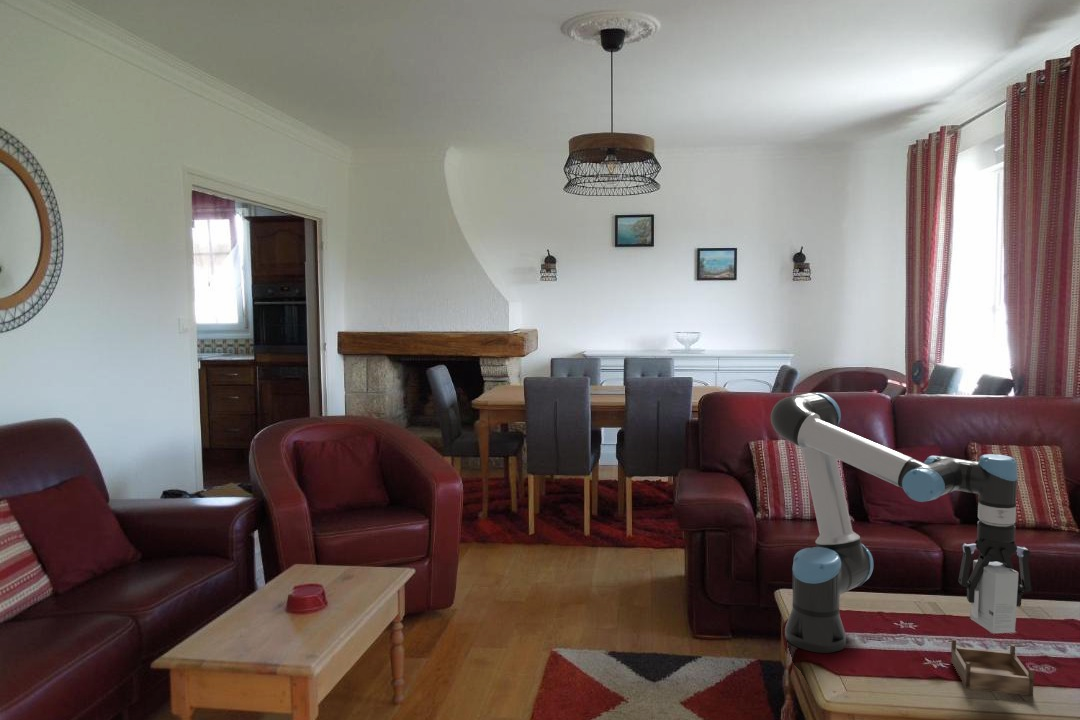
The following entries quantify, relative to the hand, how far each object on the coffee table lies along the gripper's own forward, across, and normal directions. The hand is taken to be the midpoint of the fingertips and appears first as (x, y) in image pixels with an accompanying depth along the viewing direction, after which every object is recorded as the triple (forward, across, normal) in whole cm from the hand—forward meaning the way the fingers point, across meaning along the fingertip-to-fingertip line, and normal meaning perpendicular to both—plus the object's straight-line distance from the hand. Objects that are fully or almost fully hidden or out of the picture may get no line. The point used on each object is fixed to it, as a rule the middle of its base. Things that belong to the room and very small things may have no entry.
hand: (993, 617), depth 173 cm
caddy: (+15, 0, 0) cm, 15 cm away
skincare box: (+2, 0, 0) cm, 2 cm away
